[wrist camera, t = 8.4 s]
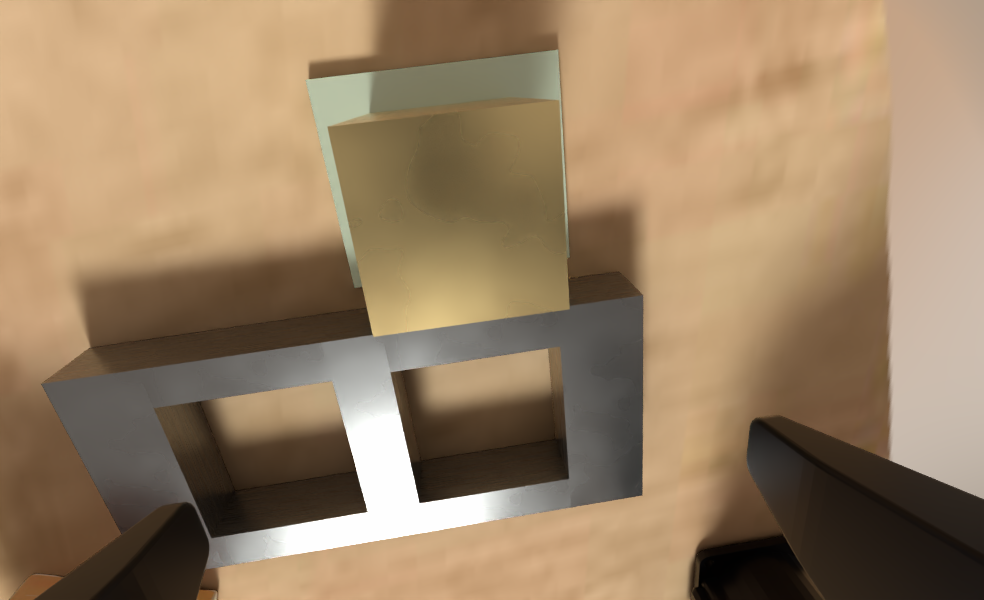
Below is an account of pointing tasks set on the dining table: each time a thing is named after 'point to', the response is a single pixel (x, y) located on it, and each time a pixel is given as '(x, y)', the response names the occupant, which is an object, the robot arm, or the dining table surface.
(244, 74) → the dining table surface
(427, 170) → the block
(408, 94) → the mat
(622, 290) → the grey flat rectangular frame
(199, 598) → the small box
